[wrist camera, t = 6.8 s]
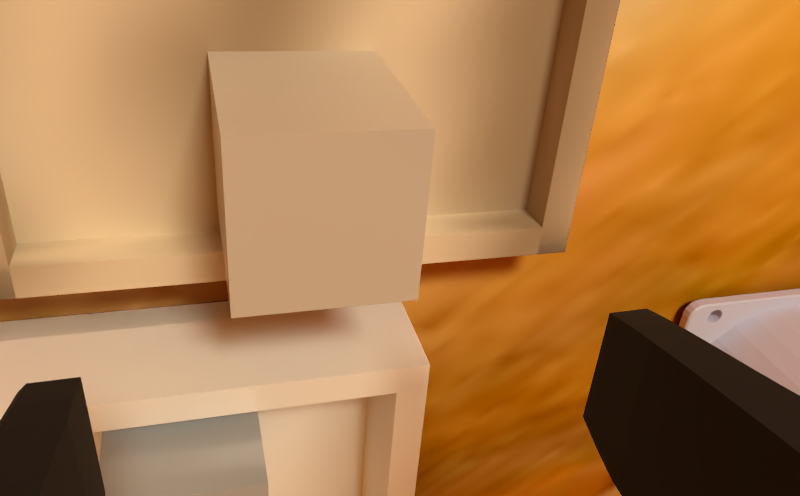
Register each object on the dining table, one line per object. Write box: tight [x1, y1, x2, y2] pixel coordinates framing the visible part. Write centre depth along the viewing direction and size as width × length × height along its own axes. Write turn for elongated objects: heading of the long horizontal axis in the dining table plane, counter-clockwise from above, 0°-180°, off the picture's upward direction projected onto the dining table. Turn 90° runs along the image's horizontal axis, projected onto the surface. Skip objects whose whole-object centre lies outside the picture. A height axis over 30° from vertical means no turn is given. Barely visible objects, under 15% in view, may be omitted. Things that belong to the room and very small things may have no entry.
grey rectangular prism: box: [99, 411, 269, 496], centre depth 19 cm, size 4×4×4 cm
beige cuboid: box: [207, 50, 436, 318], centre depth 15 cm, size 4×4×4 cm
